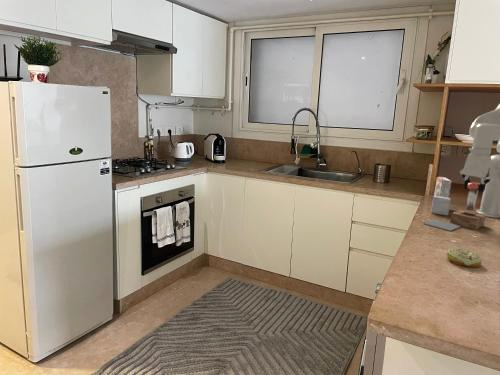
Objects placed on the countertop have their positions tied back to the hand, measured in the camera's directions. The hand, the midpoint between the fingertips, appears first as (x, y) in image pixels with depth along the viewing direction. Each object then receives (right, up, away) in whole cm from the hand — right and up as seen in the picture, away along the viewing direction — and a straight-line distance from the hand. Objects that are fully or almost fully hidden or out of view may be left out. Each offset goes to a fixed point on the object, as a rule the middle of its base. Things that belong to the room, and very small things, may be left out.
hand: (473, 190), depth 176 cm
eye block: (-1, -16, +3) cm, 17 cm away
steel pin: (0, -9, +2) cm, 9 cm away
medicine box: (-6, -12, +20) cm, 24 cm away
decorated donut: (-29, -25, -43) cm, 58 cm away
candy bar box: (0, -10, +32) cm, 33 cm away
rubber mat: (-15, -16, -1) cm, 22 cm away
